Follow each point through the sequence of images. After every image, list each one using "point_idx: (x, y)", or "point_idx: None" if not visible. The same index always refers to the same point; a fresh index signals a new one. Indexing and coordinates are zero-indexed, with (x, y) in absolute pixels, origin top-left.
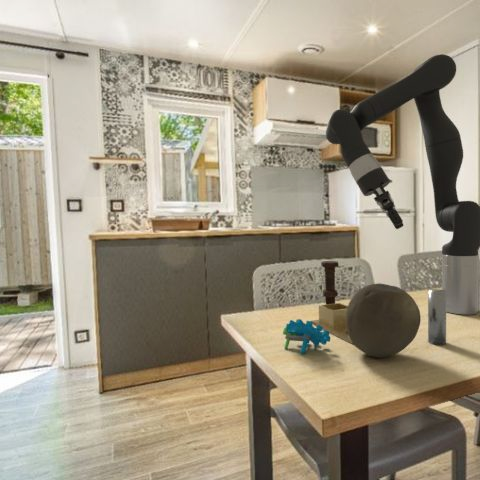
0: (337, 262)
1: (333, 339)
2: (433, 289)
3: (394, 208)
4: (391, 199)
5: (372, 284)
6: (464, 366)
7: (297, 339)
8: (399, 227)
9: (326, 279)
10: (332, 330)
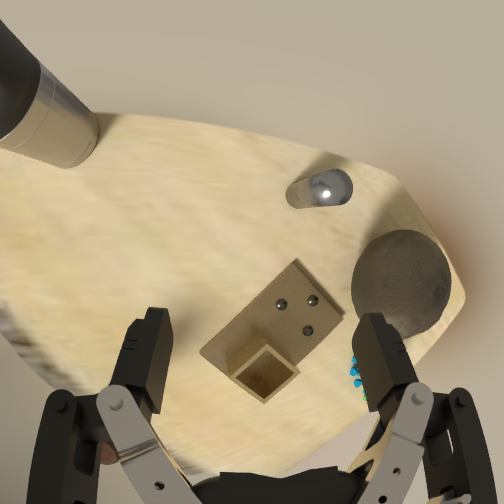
0: None
1: (327, 345)
2: (324, 192)
3: (420, 387)
4: (419, 455)
5: (432, 312)
6: (375, 178)
7: None
8: (171, 326)
9: None
10: (303, 356)
